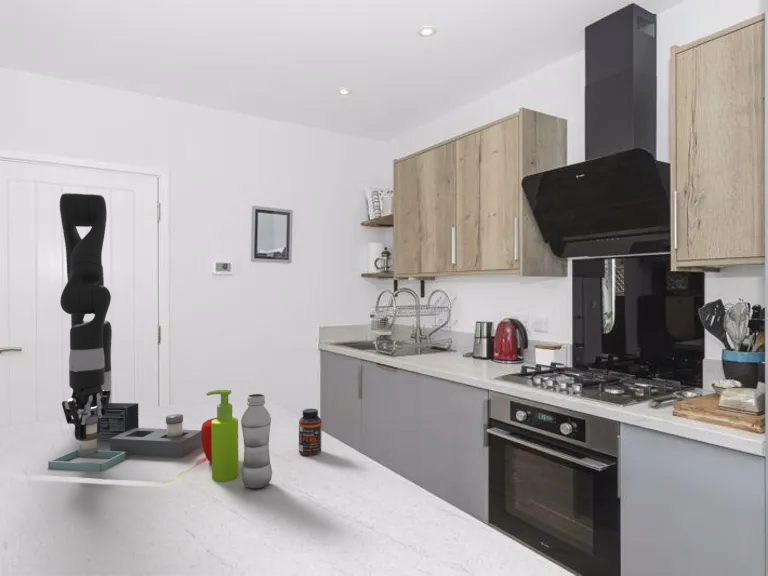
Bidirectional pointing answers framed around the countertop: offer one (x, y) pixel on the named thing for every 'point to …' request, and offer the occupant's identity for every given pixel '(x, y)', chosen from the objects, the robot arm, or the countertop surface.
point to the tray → (61, 463)
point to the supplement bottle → (310, 433)
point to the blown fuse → (89, 437)
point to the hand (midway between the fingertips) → (87, 436)
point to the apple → (207, 439)
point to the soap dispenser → (224, 440)
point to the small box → (118, 420)
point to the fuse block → (158, 440)
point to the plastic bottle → (256, 443)
